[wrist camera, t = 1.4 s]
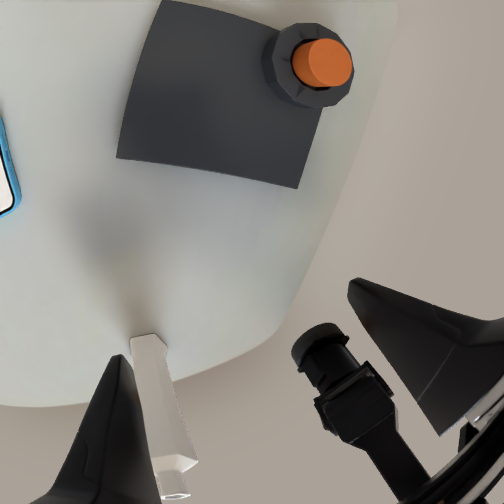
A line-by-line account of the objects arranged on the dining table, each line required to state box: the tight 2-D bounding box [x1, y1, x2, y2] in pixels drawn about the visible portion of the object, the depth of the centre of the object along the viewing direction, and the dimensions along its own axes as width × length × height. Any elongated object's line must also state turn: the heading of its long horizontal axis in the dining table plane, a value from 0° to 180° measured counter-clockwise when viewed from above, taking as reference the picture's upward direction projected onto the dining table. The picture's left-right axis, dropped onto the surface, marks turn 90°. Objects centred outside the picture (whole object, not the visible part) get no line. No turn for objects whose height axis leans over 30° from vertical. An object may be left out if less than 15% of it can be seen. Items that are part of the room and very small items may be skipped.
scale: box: [116, 0, 354, 189], centre depth 15 cm, size 14×12×3 cm
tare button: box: [292, 38, 352, 87], centre depth 14 cm, size 3×3×2 cm
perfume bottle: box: [130, 334, 199, 499], centre depth 18 cm, size 5×4×15 cm
